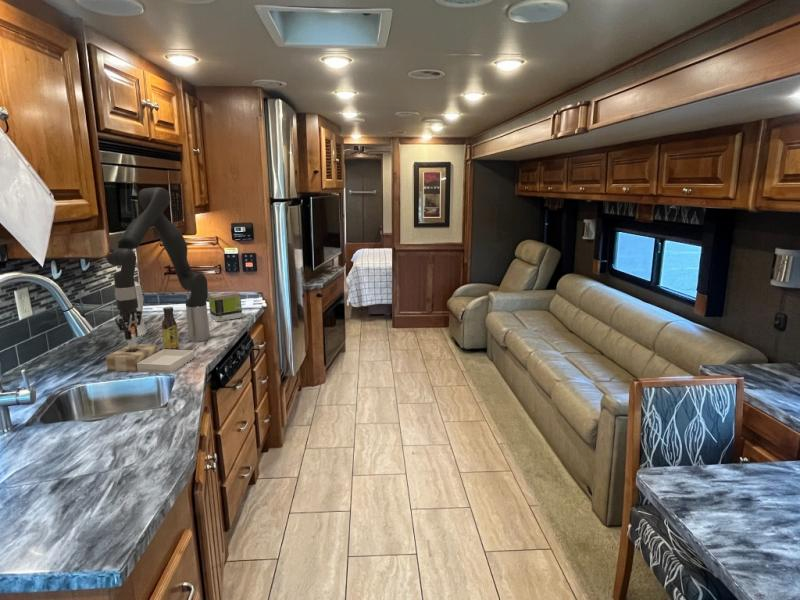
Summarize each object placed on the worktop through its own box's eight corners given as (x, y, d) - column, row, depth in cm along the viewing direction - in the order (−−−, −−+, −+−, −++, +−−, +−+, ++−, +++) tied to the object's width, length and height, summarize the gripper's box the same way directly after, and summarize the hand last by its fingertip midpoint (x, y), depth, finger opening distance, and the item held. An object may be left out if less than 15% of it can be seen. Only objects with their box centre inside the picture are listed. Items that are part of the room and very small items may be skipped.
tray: (164, 356, 208) (163, 349, 207) (194, 358, 206) (193, 350, 205) (137, 371, 190) (136, 363, 189) (170, 373, 189) (169, 365, 188)
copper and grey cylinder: (132, 352, 200) (129, 325, 197) (139, 353, 199) (136, 325, 197) (127, 355, 197) (124, 327, 194) (134, 355, 196) (131, 327, 193)
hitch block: (133, 357, 207) (131, 343, 206) (159, 358, 206) (157, 345, 204) (107, 370, 192) (105, 356, 190) (135, 371, 190) (133, 357, 189)
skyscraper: (141, 337, 235) (134, 281, 229) (126, 337, 235) (119, 281, 229) (150, 332, 243) (143, 279, 237) (135, 332, 243) (129, 278, 237)
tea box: (236, 315, 279) (234, 290, 276) (242, 318, 272) (241, 293, 269) (210, 319, 270) (208, 293, 267) (216, 322, 263) (214, 296, 259)
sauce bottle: (173, 352, 213) (168, 309, 209) (160, 351, 214) (156, 309, 210) (182, 348, 219) (178, 306, 215) (170, 347, 220) (166, 305, 216)
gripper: (129, 293, 200) (134, 332, 203) (105, 301, 186) (111, 343, 190) (146, 294, 199) (150, 333, 203) (123, 301, 185) (129, 343, 189)
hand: (131, 337), depth 196 cm, fingers closed on copper and grey cylinder, 3 cm apart
